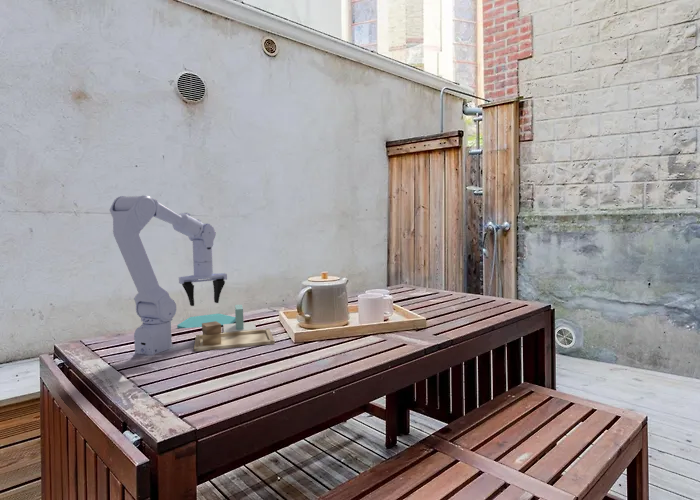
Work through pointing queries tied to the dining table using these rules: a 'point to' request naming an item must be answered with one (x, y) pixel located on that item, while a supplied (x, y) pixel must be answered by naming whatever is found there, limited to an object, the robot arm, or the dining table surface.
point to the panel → (239, 317)
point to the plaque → (206, 320)
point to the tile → (246, 327)
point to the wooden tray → (237, 340)
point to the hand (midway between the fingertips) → (204, 304)
